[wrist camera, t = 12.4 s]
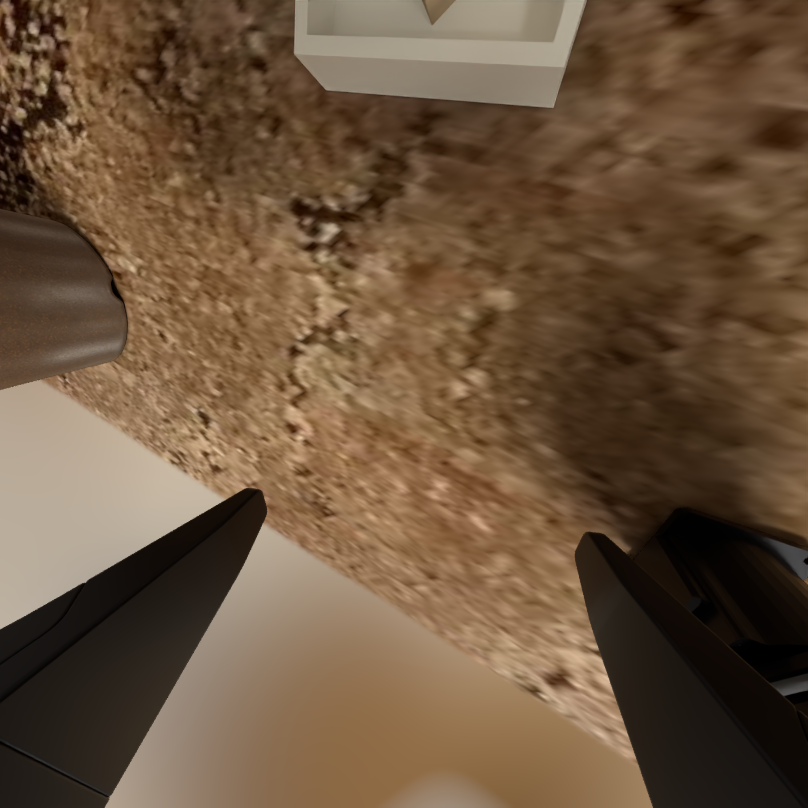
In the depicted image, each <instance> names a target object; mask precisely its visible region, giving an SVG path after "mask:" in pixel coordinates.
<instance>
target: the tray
mask: <svg viewBox="0 0 808 808" xmlns="http://www.w3.org/2000/svg"><path fill="white" fill-rule="evenodd" d="M586 2H587V0H455V1H454V3H453V4H452V5H451V6H450V7H449V8H448V9H447V10H446V11H445V12H444V13H443V14H442V15H441V17H440V18H439V19H438V20H437V21H436V22H435V23H434V24H433V25H432V24H431V22H430V19H429V17H428V14H427V12H426V9H425V7H424V5H423V2H422V0H295V39H294V55H295V56H296V57H297V58H298V59H299V60H300V61H301V63H302V64H303V65H304V66H305V67H306V68H307V69H308V70H309V72H310V73H311V74H312V75H313V76H314V77H315V78H316V80H317V81H318V82H319V83H320V84H321V85H322V86H323V87H324V89H325V90H328V91H340V92H353V93H366V94H379V95H392V96H405V97H418V98H431V99H443V100H456V101H469V102H482V103H495V104H508V105H521V106H534V107H546V108H554V105H555V101H556V98H557V95H558V92H559V88H560V85H561V82H562V79H563V76H564V72H565V69H566V66H567V63H568V60H569V56H570V53H571V50H572V47H573V44H574V40H575V37H576V34H577V31H578V28H579V24H580V21H581V18H582V15H583V11H584V8H585V5H586Z"/></svg>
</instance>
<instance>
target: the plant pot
mask: <svg viewBox="0 0 808 808" xmlns="http://www.w3.org/2000/svg"><path fill="white" fill-rule="evenodd" d="M112 279H113V278H112V275H111V274H110V272H109V270H108V268H107V267H106V265H105V264H104V263H103V261H102V260H101V258H100V257H99V256H98V254H97V253H96V252H95V251H94V249H93V248H92V247H91V246H90V245H89V244H88V243H87V242H86V241H85V240H84V239H83V238H82V237H81V236H80V235H79V234H77V233H76V232H75V231H74V230H72V229H71V228H69V227H68V226H66V225H64V224H62V223H60V222H57V221H54V220H51V219H46V218H41V217H36V216H31V215H27V214H22V213H17V212H13V211H8V210H3V209H0V390H1V389H6V388H10V387H13V386H17V385H21V384H24V383H29V382H33V381H37V380H40V379H44V378H48V377H52V376H56V375H59V374H63V373H68V372H72V371H75V370H79V369H83V368H87V367H91V366H96V365H100V364H104V363H107V362H111V361H113V360H115V359H116V358H117V357H118V356H119V355H120V354H121V353H122V351H123V348H124V346H125V342H126V337H127V319H126V313H125V309H124V304H123V302H122V301H121V300H120V299H118V298H117V297H116V296H115V295H114V293H113V292H112V289H111V281H112Z"/></svg>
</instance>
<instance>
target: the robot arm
mask: <svg viewBox="0 0 808 808" xmlns="http://www.w3.org/2000/svg"><path fill="white" fill-rule="evenodd" d="M266 515H267V506H266V503H265V499H264V495H263V492H262V491H261V490H260V489H255V488H246V489H244V490H242V491H240V492H238V493H237V494H235V495H233V496H231V497H230V498H228V499H226V500H225V501H223V502H221V503H219V504H218V505H216V506H214V507H213V508H211V509H209V510H208V511H206V512H204V513H202V514H201V515H199V516H197V517H196V518H194V519H192V520H190V521H189V522H187V523H185V524H183V525H182V526H180V527H178V528H177V529H175V530H173V531H171V532H170V533H168V534H166V535H165V536H163V537H161V538H159V539H158V540H156V541H154V542H152V543H151V544H149V545H147V546H146V547H144V548H142V549H141V550H139V551H137V552H135V553H134V554H132V555H130V556H128V557H127V558H125V559H123V560H122V561H120V562H118V563H116V564H115V565H113V566H111V567H110V568H108V569H106V570H104V571H103V572H101V573H99V574H97V575H96V576H94V577H92V578H91V579H89V580H88V581H87V582H86V583H82V584H80V585H78V586H77V587H75V588H73V589H72V590H70V591H68V592H66V593H65V594H63V595H62V596H60V597H58V598H56V599H54V600H52V601H51V602H49V603H47V604H46V605H44V606H42V607H40V608H38V609H37V610H35V611H33V612H31V613H30V614H28V615H26V616H24V617H22V618H21V619H19V620H17V621H15V622H13V623H11V624H9V625H8V626H6V627H4V628H2V629H0V808H105V806H106V804H107V802H108V800H109V796H110V795H112V793H113V791H114V790H115V788H116V786H117V784H118V783H119V781H120V779H121V778H122V776H123V774H124V772H125V771H126V769H127V767H128V765H129V764H130V762H131V760H132V758H133V757H134V755H135V753H136V752H137V750H138V748H139V746H140V745H141V743H142V741H143V739H144V738H145V736H146V734H147V732H148V731H149V729H150V727H151V726H152V724H153V722H154V720H155V719H156V717H157V715H158V713H159V712H160V710H161V708H162V706H163V705H164V703H165V701H166V700H167V698H168V696H169V694H170V693H171V691H172V689H173V687H174V686H175V684H176V682H177V680H178V679H179V677H180V675H181V673H182V672H183V670H184V668H185V667H186V665H187V663H188V661H189V660H190V658H191V656H192V654H193V653H194V651H195V649H196V647H197V646H198V644H199V642H200V641H201V638H202V637H203V635H204V633H205V632H206V630H207V628H208V627H209V625H210V623H211V622H212V620H213V618H214V616H215V615H216V613H217V611H218V609H219V608H220V606H221V604H222V602H223V601H224V599H225V597H226V596H227V594H228V592H229V590H230V589H231V587H232V585H233V583H234V582H235V580H236V578H237V576H238V574H239V573H240V570H241V569H242V567H243V565H244V563H245V561H246V559H247V557H248V554H249V552H250V550H251V548H252V546H253V544H254V542H255V539H256V537H257V535H258V533H259V531H260V529H261V526H262V524H263V522H264V520H265V518H266ZM685 516H689V517H688V518H683V517H685ZM575 562H576V566H577V570H578V574H579V578H580V583H581V587H582V591H583V595H584V599H585V603H586V608H587V612H588V616H589V620H590V623H591V627H592V630H593V633H594V636H595V639H596V642H597V645H598V648H599V651H600V654H601V657H602V660H603V663H604V666H605V669H606V671H607V674H608V677H609V680H610V683H611V686H612V689H613V692H614V695H615V698H616V701H617V704H618V707H619V710H620V712H621V715H622V718H623V721H624V724H625V727H626V730H627V733H628V736H629V739H630V742H631V745H632V748H633V751H634V753H635V756H636V759H637V762H638V765H639V768H640V771H641V774H642V777H643V780H644V783H645V785H646V788H647V791H648V794H649V797H650V800H651V803H652V806H653V808H808V585H807V584H806V583H805V582H804V580H805V579H806V578H808V547H805V546H802V545H799V544H796V543H793V542H790V541H787V540H784V539H781V538H778V537H775V536H771V535H768V534H765V533H762V532H759V531H756V530H753V529H750V528H747V527H744V526H741V525H738V524H735V523H732V522H729V521H726V520H723V519H720V518H717V517H714V516H711V515H708V514H705V513H702V512H699V511H696V510H693V509H690V508H685V507H684V508H678V509H676V510H675V511H674V512H673V513H672V514H671V515H670V517H669V518H668V519H667V520H666V522H665V523H664V524H663V525H662V527H661V528H660V529H659V530H658V532H657V533H656V534H655V535H654V536H653V537H652V538H651V540H650V541H649V542H648V543H647V545H646V546H645V547H644V548H643V550H642V551H641V552H640V553H639V555H638V556H637V557H636V558H635V559H634V560H632V559H631V558H630V557H629V556H628V555H627V554H626V553H625V552H624V551H622V550H621V549H620V548H619V547H618V546H617V545H616V544H615V543H614V542H612V541H611V540H610V539H609V538H608V537H607V536H606V535H604V534H602V533H595V532H586V533H584V534H583V536H582V538H581V540H580V542H579V544H578V547H577V549H576V551H575Z"/></svg>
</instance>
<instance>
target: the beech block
mask: <svg viewBox="0 0 808 808" xmlns="http://www.w3.org/2000/svg"><path fill="white" fill-rule="evenodd" d="M454 1H455V0H422V2H423V5H424V7H425V9H426V12H427V14H428V17H429V19H430V22H431V24H432V25H433V24H434V23H435V22H436V21H437V20H438V19H439V18H440V17H441V15H442V14H443V13H444V12H445V11H446V10H447V9H448V8H449V7H450V6H451V5H452V4H453V3H454Z"/></svg>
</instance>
